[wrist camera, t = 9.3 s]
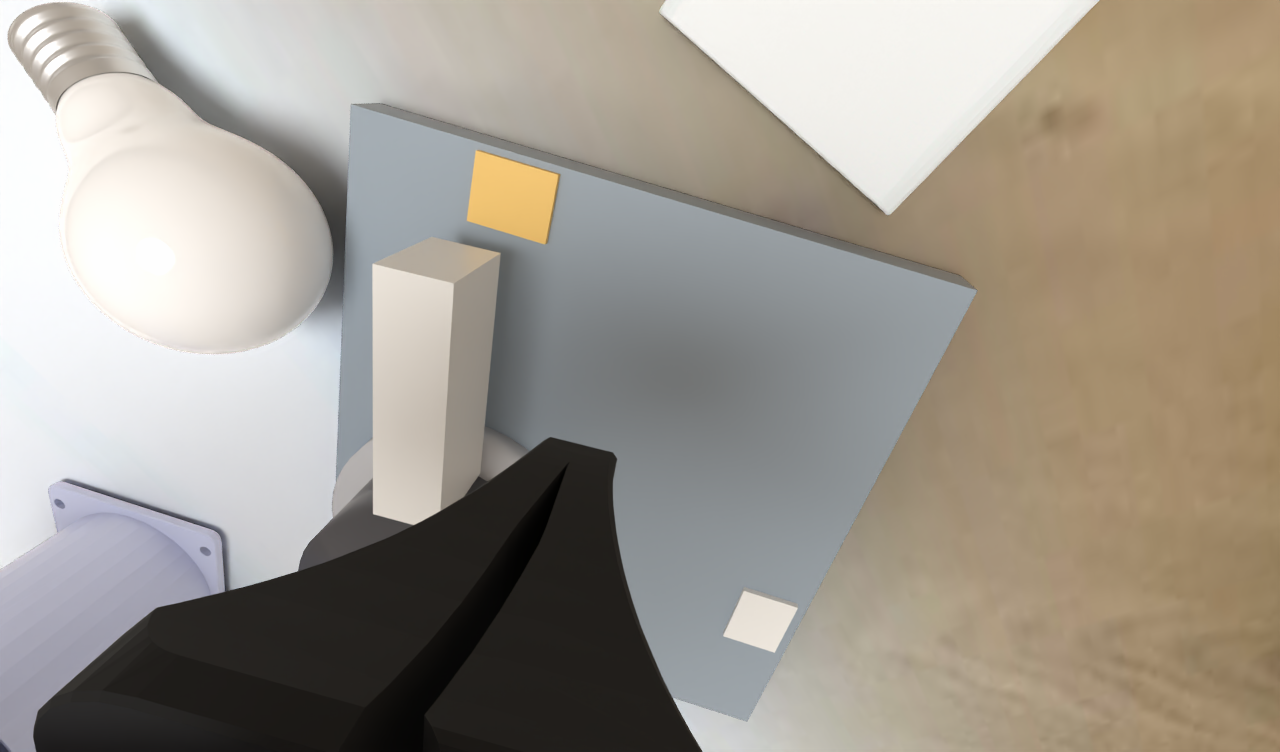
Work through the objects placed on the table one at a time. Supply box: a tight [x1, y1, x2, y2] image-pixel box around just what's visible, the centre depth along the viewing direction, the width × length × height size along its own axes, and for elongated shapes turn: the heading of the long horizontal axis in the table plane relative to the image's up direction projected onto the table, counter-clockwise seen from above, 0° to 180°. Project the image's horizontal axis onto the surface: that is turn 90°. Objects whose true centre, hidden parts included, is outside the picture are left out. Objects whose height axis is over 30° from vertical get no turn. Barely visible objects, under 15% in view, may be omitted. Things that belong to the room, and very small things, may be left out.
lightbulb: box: [8, 2, 333, 354], centre depth 18 cm, size 6×6×11 cm
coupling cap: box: [298, 237, 501, 571], centre depth 19 cm, size 14×7×3 cm, turn 169°
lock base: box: [332, 103, 978, 722], centre depth 21 cm, size 19×18×2 cm
